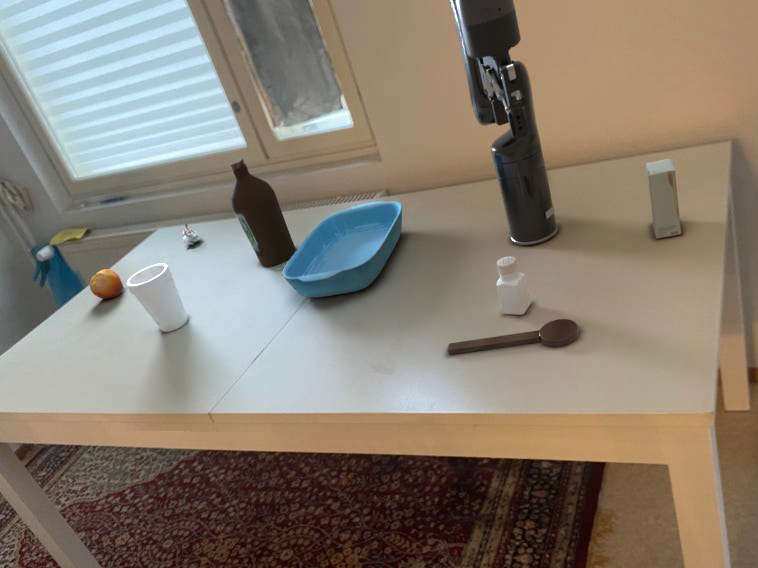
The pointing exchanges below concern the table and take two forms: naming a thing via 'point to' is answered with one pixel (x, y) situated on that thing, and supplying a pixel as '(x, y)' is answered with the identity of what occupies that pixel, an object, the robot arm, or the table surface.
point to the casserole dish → (345, 250)
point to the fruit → (106, 284)
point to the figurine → (190, 236)
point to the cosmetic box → (663, 198)
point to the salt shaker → (512, 287)
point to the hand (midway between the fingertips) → (511, 129)
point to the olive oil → (260, 216)
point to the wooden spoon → (523, 338)
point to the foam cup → (159, 296)
